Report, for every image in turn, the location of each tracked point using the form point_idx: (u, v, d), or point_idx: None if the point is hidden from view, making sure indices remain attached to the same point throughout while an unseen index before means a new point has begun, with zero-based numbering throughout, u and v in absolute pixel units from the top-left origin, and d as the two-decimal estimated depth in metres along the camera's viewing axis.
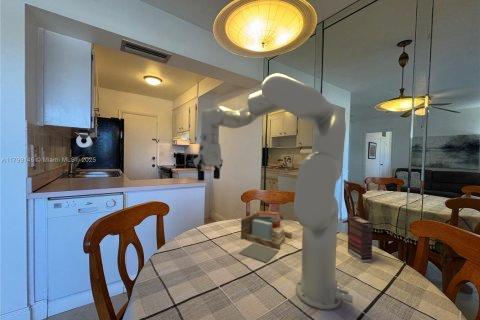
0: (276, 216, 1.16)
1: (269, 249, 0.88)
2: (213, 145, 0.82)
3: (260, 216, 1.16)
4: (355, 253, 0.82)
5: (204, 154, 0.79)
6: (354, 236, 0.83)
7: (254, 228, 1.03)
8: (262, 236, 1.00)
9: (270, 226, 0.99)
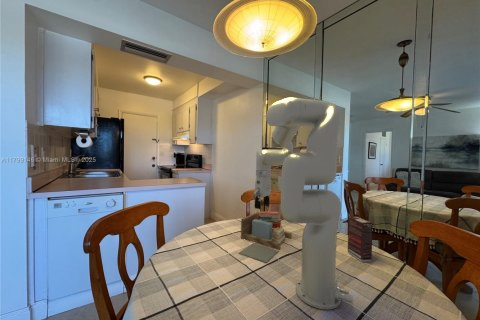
0: (277, 216, 1.16)
1: (269, 249, 0.88)
2: (266, 179, 1.00)
3: (261, 216, 1.16)
4: (355, 253, 0.82)
5: (261, 188, 0.98)
6: (354, 236, 0.83)
7: (254, 228, 1.03)
8: (262, 236, 1.00)
9: (270, 226, 0.99)
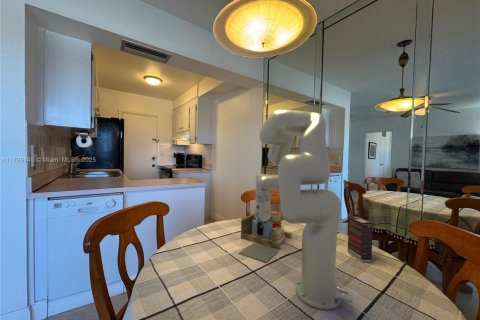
0: (277, 215, 1.17)
1: (269, 249, 0.88)
2: (266, 204, 1.00)
3: None
4: (355, 253, 0.82)
5: (260, 213, 0.97)
6: (354, 236, 0.83)
7: (254, 228, 1.03)
8: (262, 236, 1.00)
9: (270, 226, 0.99)
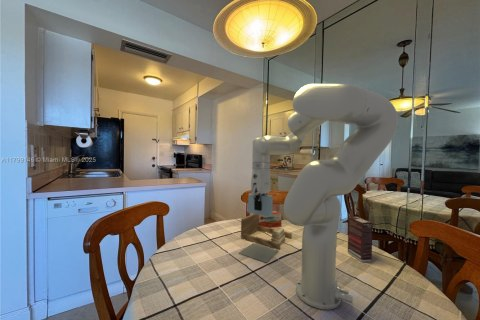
0: (278, 215, 1.18)
1: (269, 249, 0.88)
2: (265, 173, 0.83)
3: (264, 216, 1.15)
4: (355, 253, 0.82)
5: (258, 183, 0.80)
6: (354, 236, 0.83)
7: (251, 203, 0.86)
8: (260, 211, 0.83)
9: (270, 199, 0.82)
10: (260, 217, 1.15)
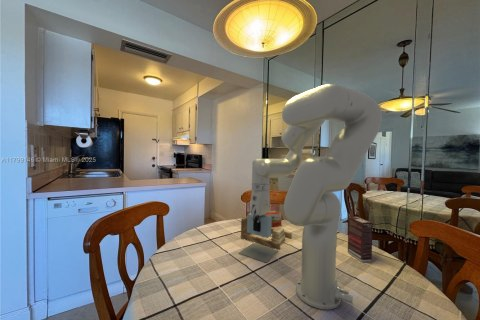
0: (278, 214, 1.19)
1: (269, 249, 0.88)
2: (264, 194, 0.83)
3: None
4: (355, 253, 0.82)
5: (258, 205, 0.80)
6: (354, 236, 0.83)
7: (250, 223, 0.86)
8: (259, 232, 0.83)
9: (269, 220, 0.82)
10: None
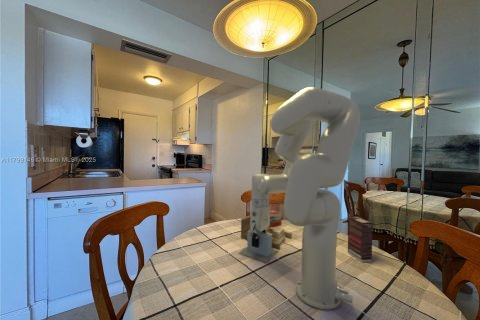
0: (278, 214, 1.20)
1: None
2: (264, 210, 0.83)
3: None
4: (355, 253, 0.82)
5: (257, 221, 0.80)
6: (354, 236, 0.83)
7: (250, 241, 0.86)
8: (259, 251, 0.83)
9: (269, 239, 0.82)
10: None
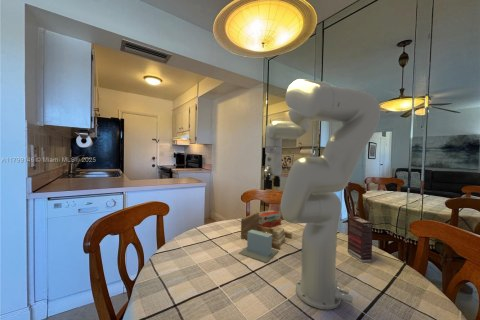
0: (278, 214, 1.21)
1: None
2: (278, 157, 0.90)
3: (267, 217, 1.15)
4: (355, 253, 0.82)
5: (272, 165, 0.87)
6: (354, 236, 0.83)
7: (250, 241, 0.86)
8: (259, 251, 0.83)
9: (269, 239, 0.82)
10: (264, 217, 1.14)
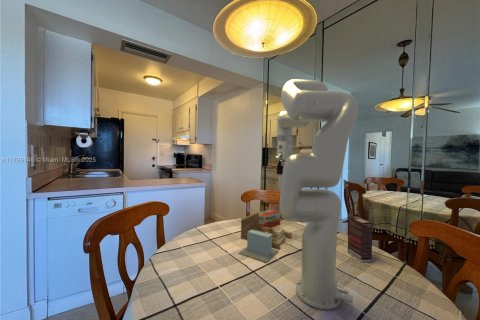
0: (278, 213, 1.22)
1: None
2: (289, 145, 0.97)
3: (268, 217, 1.15)
4: (355, 253, 0.82)
5: (284, 152, 0.94)
6: (354, 236, 0.83)
7: (250, 241, 0.86)
8: (259, 251, 0.83)
9: (269, 239, 0.82)
10: (265, 218, 1.14)
